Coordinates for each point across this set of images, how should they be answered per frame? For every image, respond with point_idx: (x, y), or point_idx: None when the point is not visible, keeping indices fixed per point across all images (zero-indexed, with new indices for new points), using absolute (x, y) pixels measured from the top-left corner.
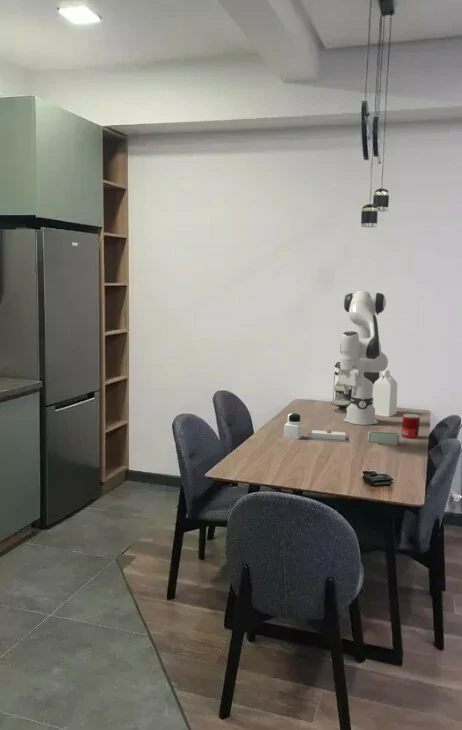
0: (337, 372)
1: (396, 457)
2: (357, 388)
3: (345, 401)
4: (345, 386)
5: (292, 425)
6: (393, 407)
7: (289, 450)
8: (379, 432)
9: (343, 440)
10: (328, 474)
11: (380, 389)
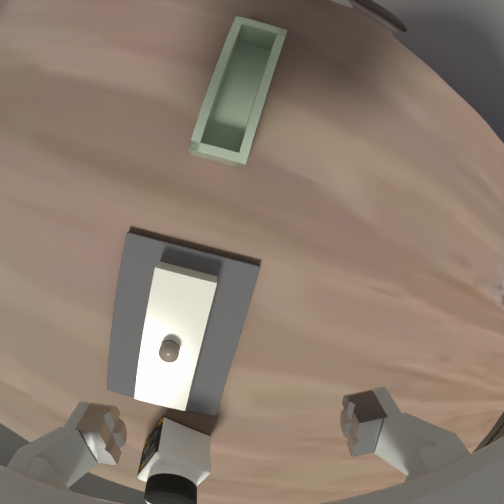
0: None
1: (436, 149)
2: (455, 441)
3: None
4: (66, 486)
5: (199, 483)
6: None
7: (326, 456)
8: (215, 96)
9: (219, 285)
10: (494, 375)
11: None
